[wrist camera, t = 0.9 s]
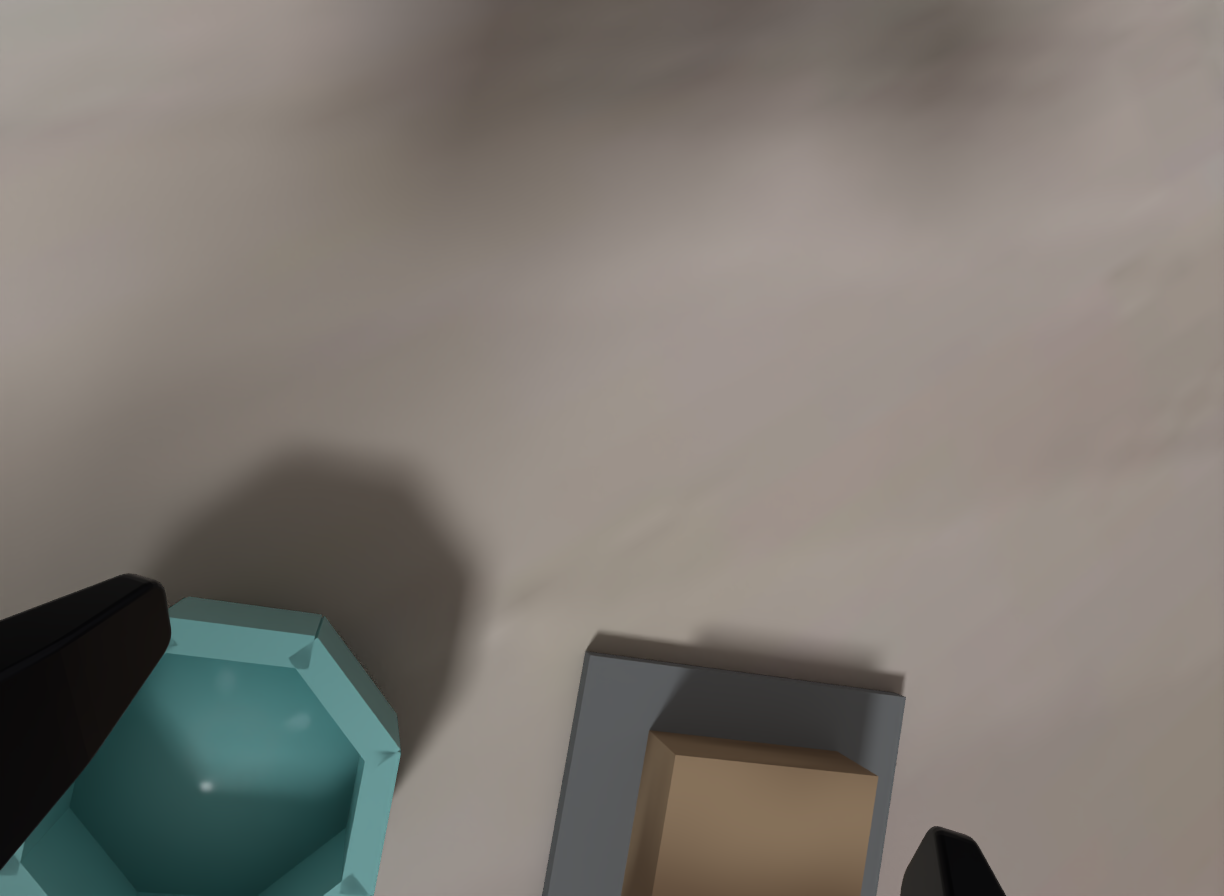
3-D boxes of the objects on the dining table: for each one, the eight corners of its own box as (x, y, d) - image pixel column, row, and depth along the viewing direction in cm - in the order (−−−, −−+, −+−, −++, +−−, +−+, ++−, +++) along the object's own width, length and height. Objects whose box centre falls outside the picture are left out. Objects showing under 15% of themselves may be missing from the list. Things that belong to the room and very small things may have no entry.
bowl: (356, 915, 25) (353, 1002, 21) (24, 899, 23) (-52, 993, 18) (413, 621, 25) (420, 649, 21) (95, 577, 23) (37, 600, 19)
